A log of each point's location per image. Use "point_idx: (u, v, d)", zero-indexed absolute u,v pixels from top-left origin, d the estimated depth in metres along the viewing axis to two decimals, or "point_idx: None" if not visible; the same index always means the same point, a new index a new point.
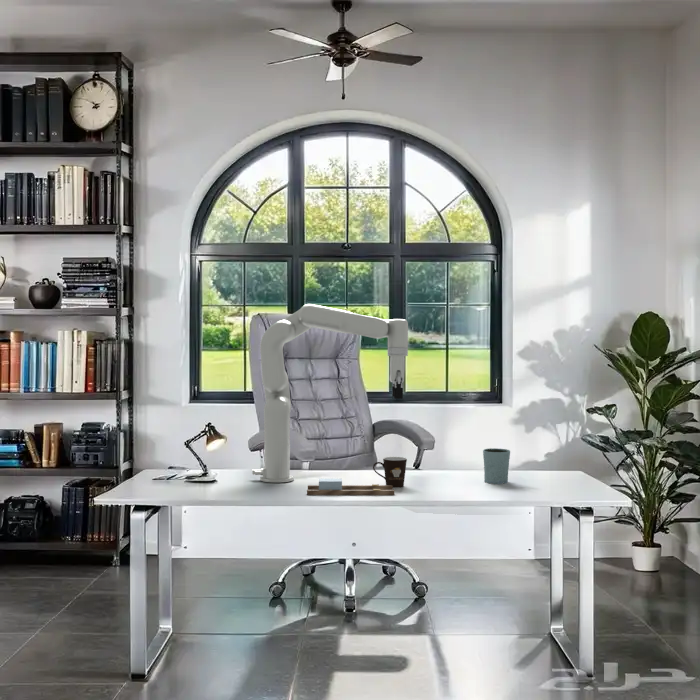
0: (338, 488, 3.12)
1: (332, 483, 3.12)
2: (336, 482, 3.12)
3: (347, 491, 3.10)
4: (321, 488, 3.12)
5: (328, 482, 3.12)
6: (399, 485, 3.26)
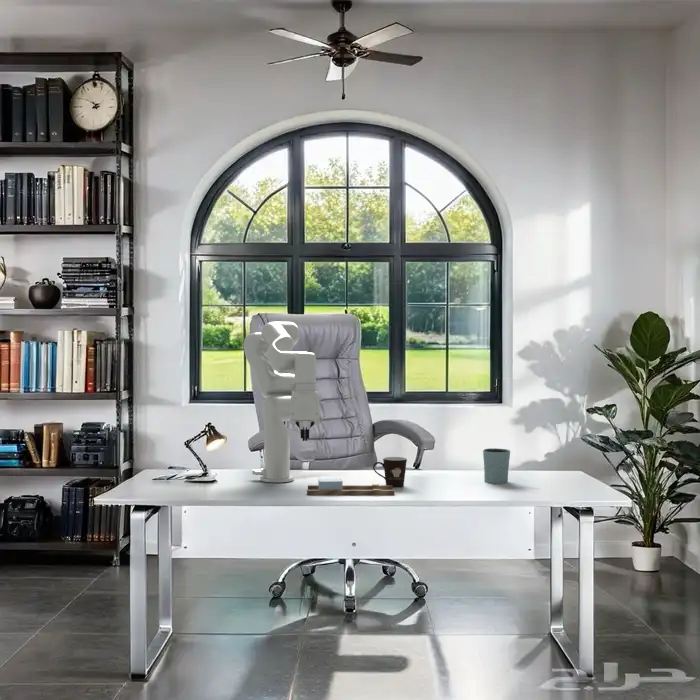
0: (339, 488, 3.13)
1: (333, 483, 3.12)
2: (337, 482, 3.13)
3: (347, 491, 3.10)
4: (322, 488, 3.12)
5: (329, 482, 3.12)
6: (399, 485, 3.26)
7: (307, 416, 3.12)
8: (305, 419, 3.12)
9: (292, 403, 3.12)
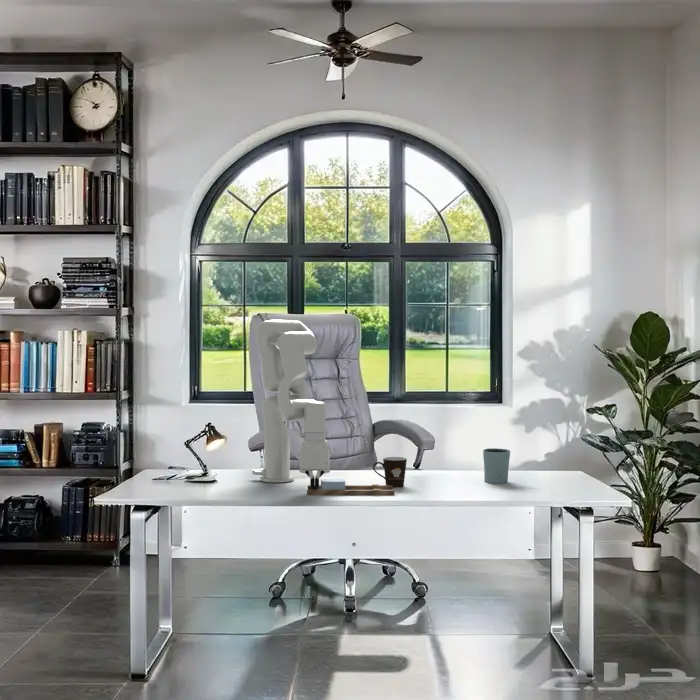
0: (341, 488, 3.13)
1: (335, 483, 3.12)
2: (340, 482, 3.12)
3: (347, 491, 3.10)
4: (324, 488, 3.12)
5: (331, 482, 3.12)
6: (399, 485, 3.26)
7: (317, 466, 3.12)
8: (315, 468, 3.12)
9: (302, 452, 3.12)
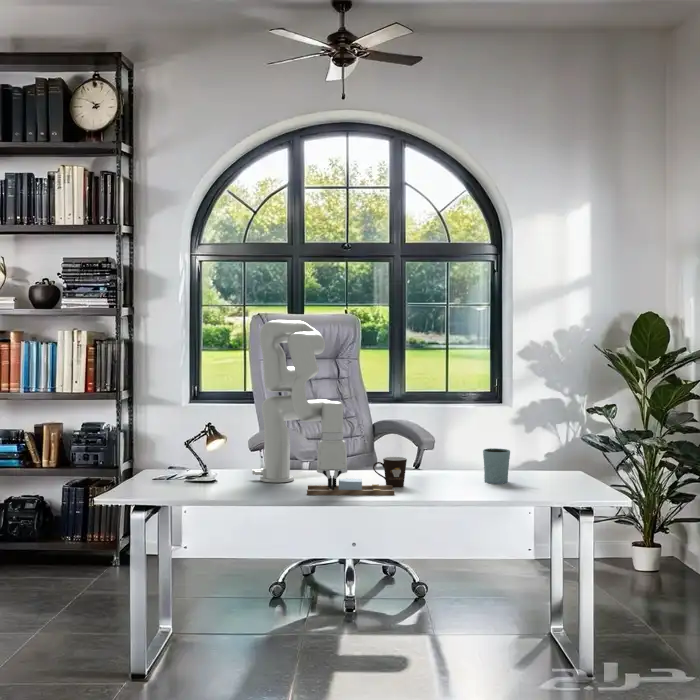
0: (358, 488, 3.12)
1: (352, 483, 3.12)
2: (356, 482, 3.12)
3: (347, 491, 3.10)
4: (341, 488, 3.12)
5: (348, 482, 3.12)
6: (399, 485, 3.26)
7: (334, 466, 3.12)
8: (332, 468, 3.12)
9: (319, 452, 3.13)
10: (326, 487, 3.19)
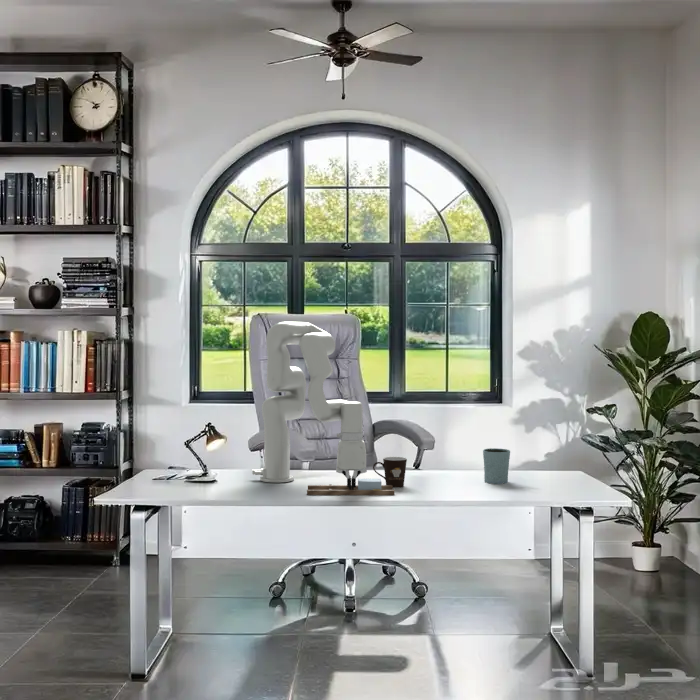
0: (377, 488, 3.13)
1: (371, 483, 3.12)
2: (376, 482, 3.13)
3: (347, 491, 3.10)
4: (361, 488, 3.12)
5: (367, 482, 3.12)
6: (399, 485, 3.26)
7: (354, 466, 3.12)
8: (352, 468, 3.13)
9: (339, 452, 3.13)
10: (326, 487, 3.19)
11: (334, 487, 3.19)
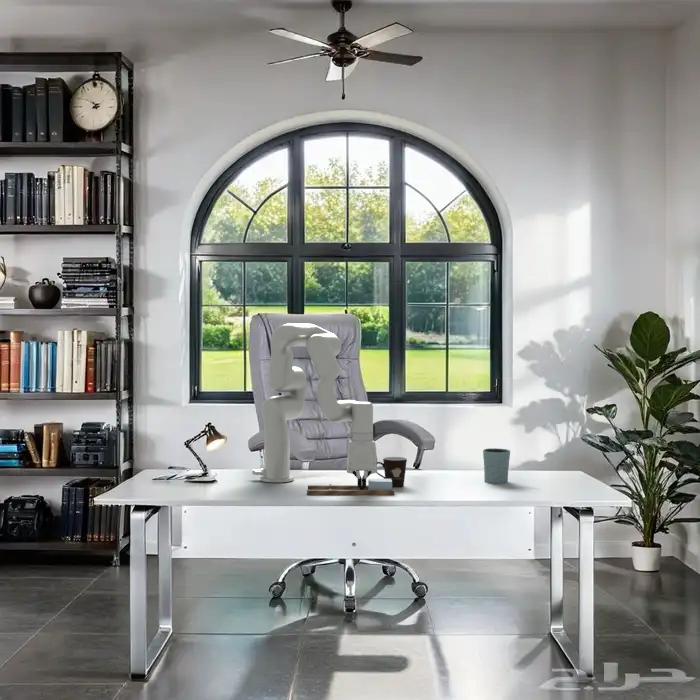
0: (388, 488, 3.13)
1: (382, 483, 3.13)
2: (387, 482, 3.13)
3: (347, 491, 3.10)
4: (371, 488, 3.13)
5: (378, 482, 3.13)
6: (399, 485, 3.26)
7: (364, 466, 3.13)
8: (362, 469, 3.13)
9: (349, 452, 3.13)
10: (326, 487, 3.19)
11: (334, 487, 3.19)
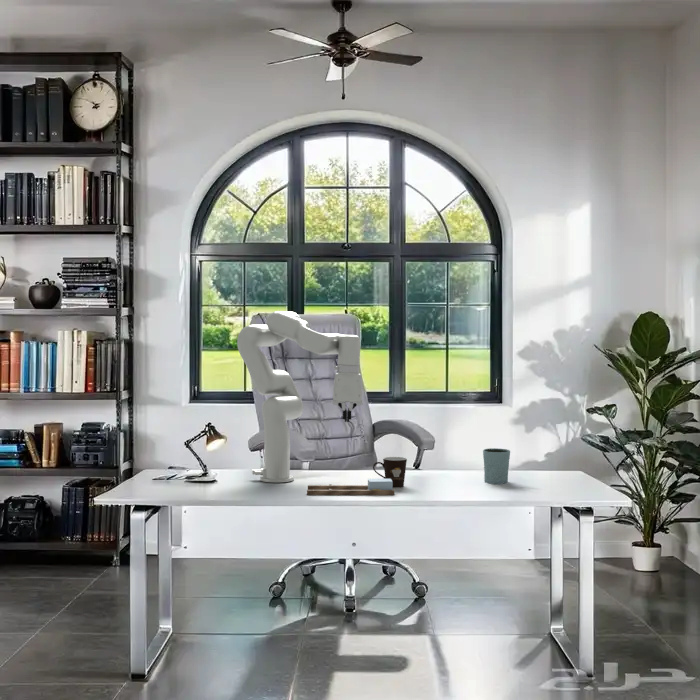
0: (389, 488, 3.13)
1: (383, 483, 3.13)
2: (387, 482, 3.13)
3: (347, 491, 3.10)
4: (372, 488, 3.13)
5: (379, 482, 3.13)
6: (399, 485, 3.26)
7: (350, 398, 3.17)
8: (348, 401, 3.17)
9: (335, 384, 3.17)
10: (326, 487, 3.19)
11: (334, 487, 3.19)
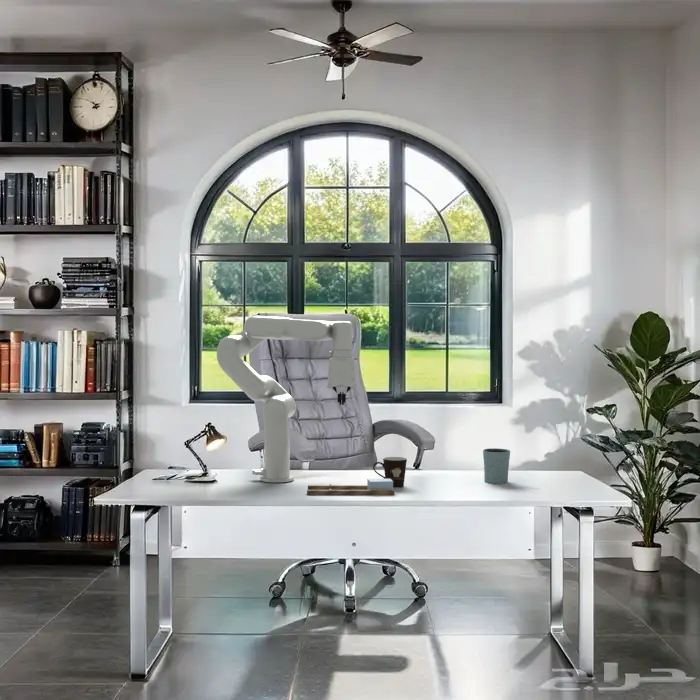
0: (389, 488, 3.13)
1: (383, 483, 3.13)
2: (388, 482, 3.13)
3: (347, 491, 3.10)
4: (372, 488, 3.12)
5: (379, 482, 3.13)
6: (399, 485, 3.26)
7: (344, 381, 3.30)
8: (342, 384, 3.30)
9: (330, 368, 3.30)
10: (326, 487, 3.19)
11: (334, 487, 3.19)
